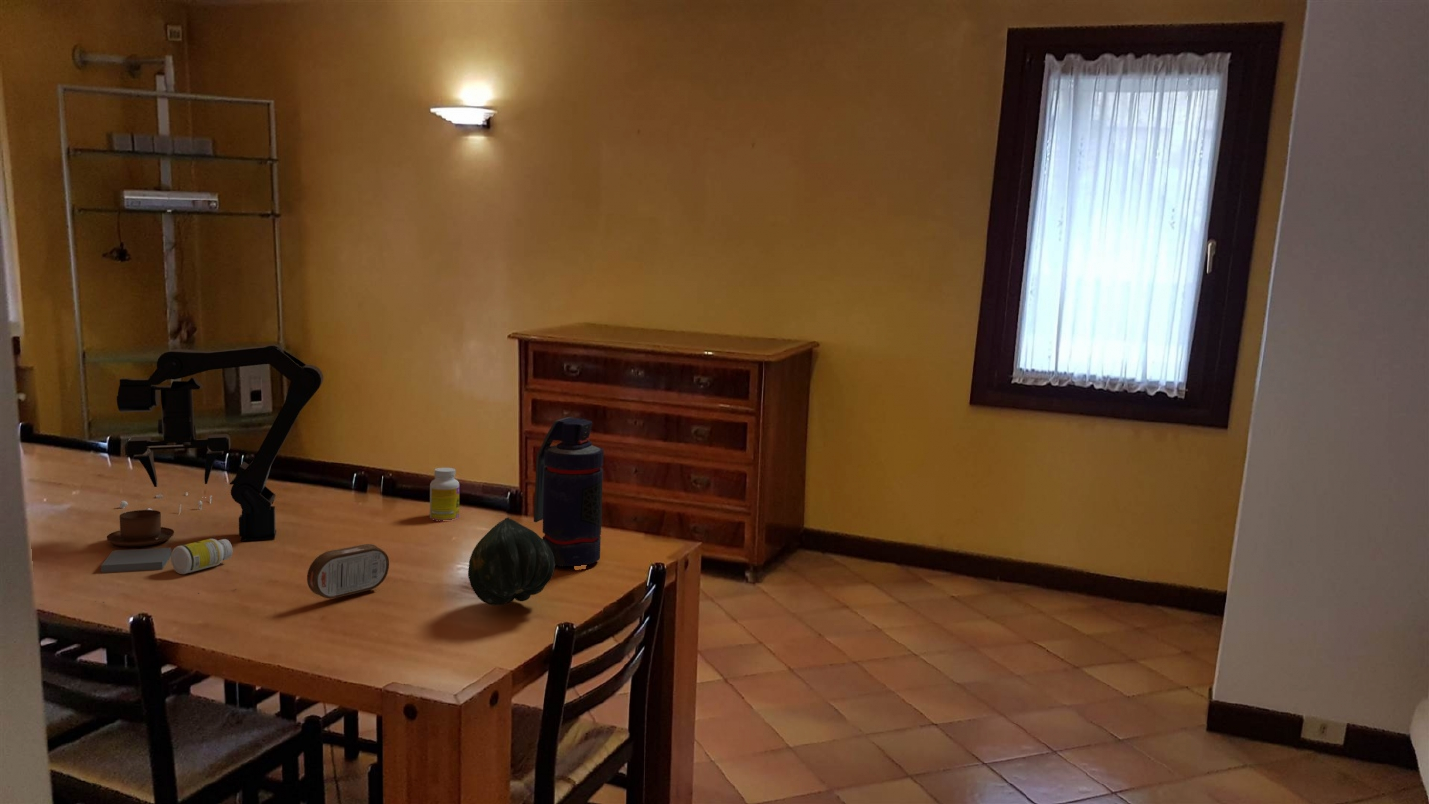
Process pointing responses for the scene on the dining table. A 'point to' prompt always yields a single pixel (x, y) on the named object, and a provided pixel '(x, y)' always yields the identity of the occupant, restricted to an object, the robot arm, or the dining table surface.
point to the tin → (348, 571)
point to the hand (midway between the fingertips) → (181, 485)
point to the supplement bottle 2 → (444, 495)
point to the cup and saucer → (140, 529)
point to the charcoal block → (136, 560)
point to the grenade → (570, 492)
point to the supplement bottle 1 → (200, 555)
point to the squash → (510, 564)
